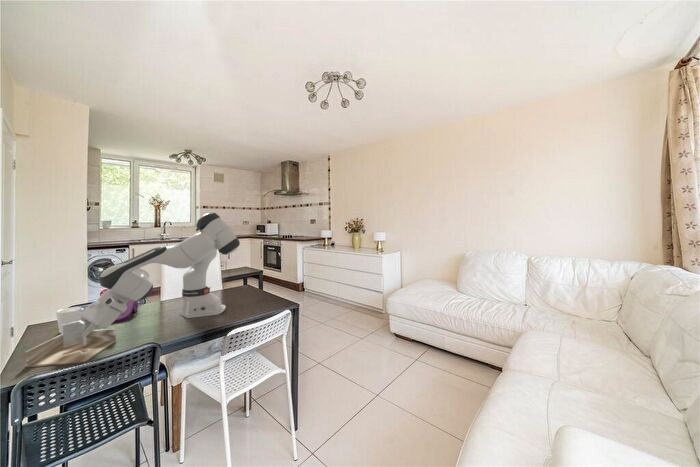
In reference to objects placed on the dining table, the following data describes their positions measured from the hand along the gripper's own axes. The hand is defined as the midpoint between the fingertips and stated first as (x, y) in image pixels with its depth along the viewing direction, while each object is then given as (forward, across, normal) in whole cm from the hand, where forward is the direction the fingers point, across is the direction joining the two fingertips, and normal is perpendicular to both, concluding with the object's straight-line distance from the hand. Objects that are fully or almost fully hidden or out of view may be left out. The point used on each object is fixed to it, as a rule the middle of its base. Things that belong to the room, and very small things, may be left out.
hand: (80, 333), depth 98 cm
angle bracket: (+4, 0, +2) cm, 5 cm away
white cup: (+2, -31, +9) cm, 32 cm away
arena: (+6, -1, +4) cm, 8 cm away
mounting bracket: (-11, -31, +22) cm, 39 cm away
